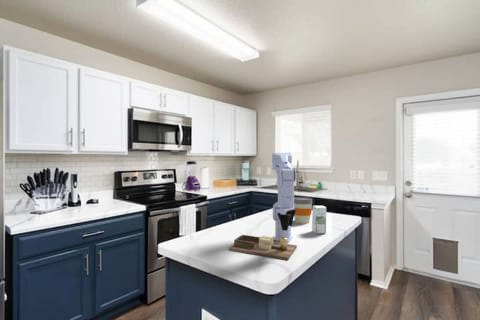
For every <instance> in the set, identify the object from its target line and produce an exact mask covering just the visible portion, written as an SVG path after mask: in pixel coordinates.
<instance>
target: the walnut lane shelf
mask: <svg viewBox="0 0 480 320" xmlns="http://www.w3.org/2000/svg"><path fill="white" fill-rule="evenodd" d="M261 237H262V236H261ZM261 237H260V236H255V235H248V234H241V235H239V236H238V237H237V238H235V239H233V245H231V246H230V247H229V251H231V252H232V251H233V252H239V253H245V254H250V255H256V256H262V257H266V258H267V257H269V258H273V259H279V260H280V259H281V260H285V261H289V260H290V259H291V256H292V255H293V254H294V252H295V251H296V249H297V248H298V247H297V245H296V244H289V243H287V251H281V250H280V249H275V248H271V249H270V250H269V249H262V248H259V238H261ZM273 246H278V247H280V242H278V241H277V242H276V241H273Z"/></svg>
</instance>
